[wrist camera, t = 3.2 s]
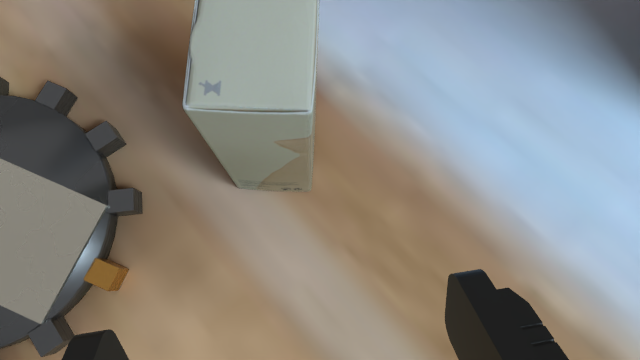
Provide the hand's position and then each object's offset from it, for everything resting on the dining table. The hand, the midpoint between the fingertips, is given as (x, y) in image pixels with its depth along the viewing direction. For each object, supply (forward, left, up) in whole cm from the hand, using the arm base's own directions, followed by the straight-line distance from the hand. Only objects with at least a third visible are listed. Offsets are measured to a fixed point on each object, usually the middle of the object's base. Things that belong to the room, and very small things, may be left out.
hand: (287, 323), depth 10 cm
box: (-7, -5, -13) cm, 16 cm away
